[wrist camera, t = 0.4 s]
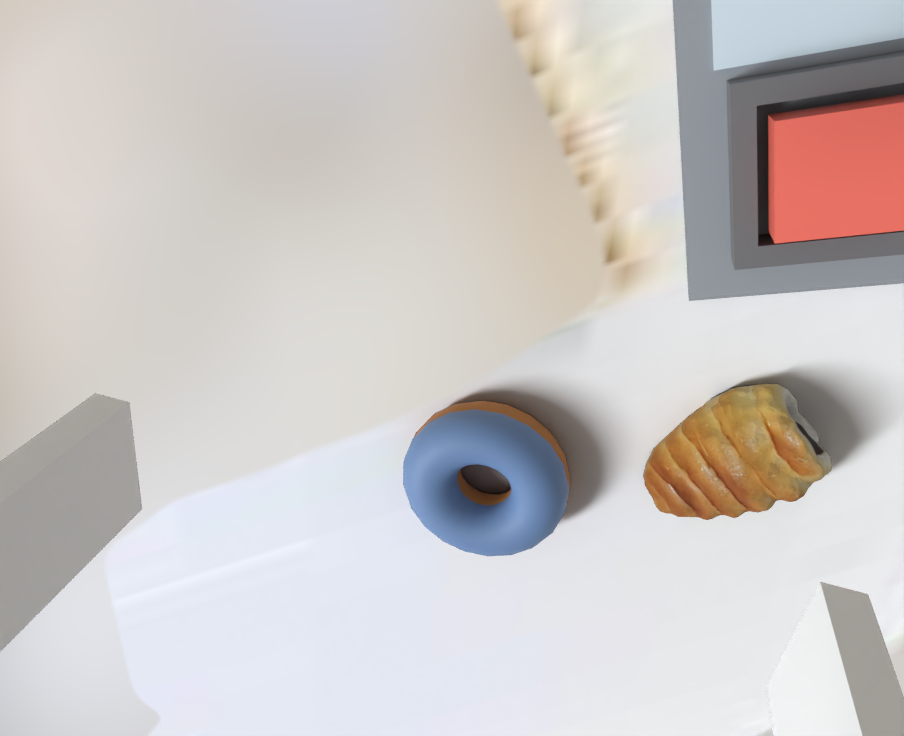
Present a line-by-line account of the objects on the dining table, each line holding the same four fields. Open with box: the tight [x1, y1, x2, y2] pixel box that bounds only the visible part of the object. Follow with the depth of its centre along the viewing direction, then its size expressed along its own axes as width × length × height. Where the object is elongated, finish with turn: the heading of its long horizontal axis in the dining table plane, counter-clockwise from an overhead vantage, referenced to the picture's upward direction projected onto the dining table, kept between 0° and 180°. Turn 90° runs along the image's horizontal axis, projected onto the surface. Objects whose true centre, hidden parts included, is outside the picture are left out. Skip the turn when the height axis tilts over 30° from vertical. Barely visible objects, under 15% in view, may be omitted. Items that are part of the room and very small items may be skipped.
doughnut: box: [403, 401, 570, 556], centre depth 43 cm, size 10×10×5 cm
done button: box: [768, 94, 904, 244], centre depth 29 cm, size 5×5×2 cm
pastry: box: [643, 384, 832, 520], centre depth 38 cm, size 9×7×4 cm
